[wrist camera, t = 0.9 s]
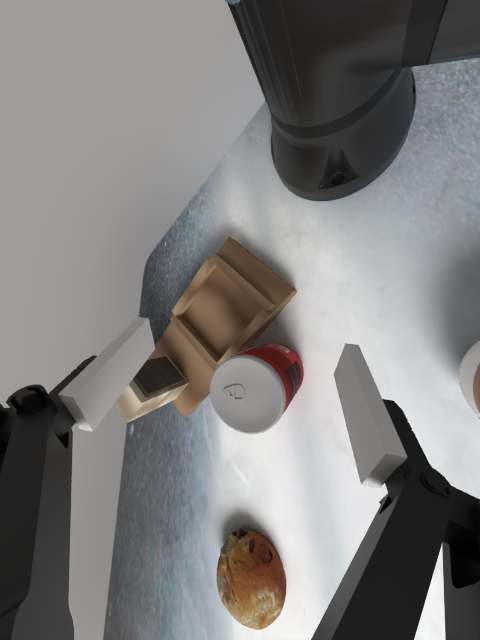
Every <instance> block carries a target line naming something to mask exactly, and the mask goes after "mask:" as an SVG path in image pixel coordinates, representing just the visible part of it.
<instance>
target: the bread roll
mask: <svg viewBox="0 0 480 640" xmlns="http://www.w3.org/2000/svg"><path fill="white" fill-rule="evenodd" d="M217 586H218V592H219V595H220V598H221V600H222V602H223V604H224V606H225V607H226V609H227V610H228V611H229V613H230V614H231V615H232V616H233V618H234V619H236V620H237V621H238V622H239V623H241V624H242V625H244V626H246V627H249V628H253V629H256V630H257V629H258V630H260V629H264V628H266V627H267V626H269V625H270V624H271V623H273V622H274V621H275V620H276V618H277V617H278V616H279V615H280V613H281V611H282V608H283V605H284V601H285V596H286V577H285V574H284V570H283V566H282V563H281V560H280V557H279V555H278V553H277V551H276V550H275V548H274V547H273V546H272V544H271V543H270V542H269V541H268V540H267V539H266V538H265V537H264V536H263V535H261V534H260V533H258V532H255V531H251V530H249V529H244V528H241V529H240V530H238V531H236V532H233V533H232V534H230V535H229V539H228V540H227V542H226V543H225V544H224V546H223V547H222V548H221V554H220V557H219V561H218V568H217Z"/></svg>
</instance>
